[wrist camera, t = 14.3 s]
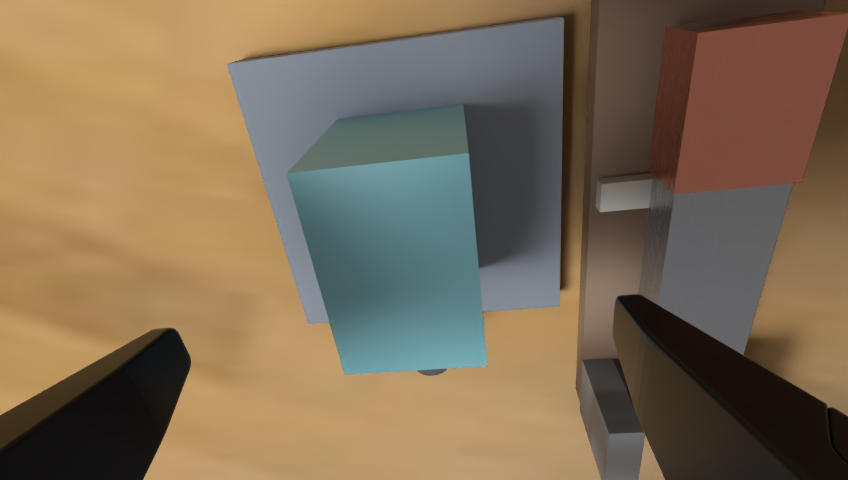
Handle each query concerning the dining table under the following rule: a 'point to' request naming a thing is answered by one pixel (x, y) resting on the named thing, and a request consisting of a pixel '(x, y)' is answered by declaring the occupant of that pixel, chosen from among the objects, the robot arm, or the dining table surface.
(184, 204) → the dining table surface
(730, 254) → the cutter lever
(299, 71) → the mat
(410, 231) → the plug
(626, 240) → the base
